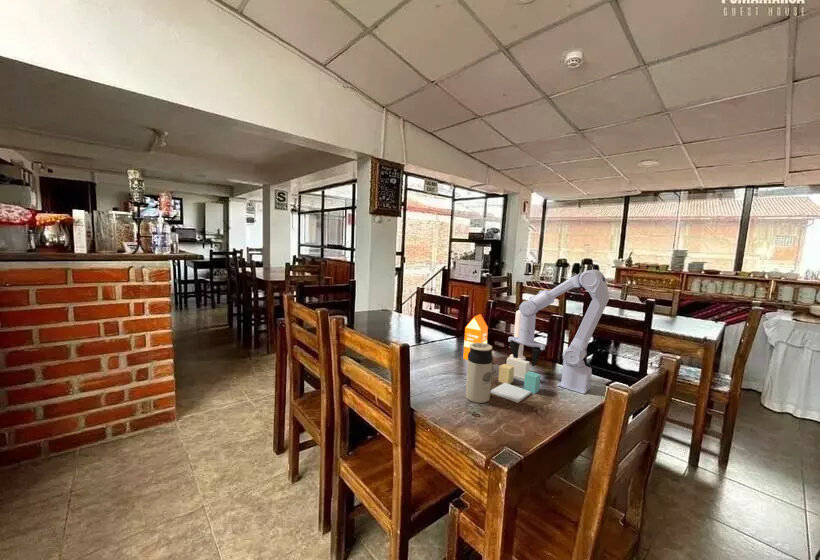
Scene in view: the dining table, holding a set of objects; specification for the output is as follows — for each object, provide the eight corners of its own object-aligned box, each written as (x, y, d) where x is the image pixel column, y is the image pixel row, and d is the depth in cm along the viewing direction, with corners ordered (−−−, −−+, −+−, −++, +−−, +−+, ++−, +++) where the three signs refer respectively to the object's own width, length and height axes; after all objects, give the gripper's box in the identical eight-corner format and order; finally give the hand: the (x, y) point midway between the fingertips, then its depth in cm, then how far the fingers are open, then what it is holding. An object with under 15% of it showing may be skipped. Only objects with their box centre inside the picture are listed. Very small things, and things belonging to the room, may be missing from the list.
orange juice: (486, 357, 150) (489, 315, 148) (479, 363, 143) (482, 318, 140) (470, 354, 154) (472, 312, 152) (462, 359, 147) (465, 315, 145)
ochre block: (513, 381, 124) (514, 366, 123) (508, 384, 121) (509, 369, 120) (503, 378, 127) (504, 363, 126) (498, 381, 124) (499, 366, 123)
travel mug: (461, 394, 112) (464, 343, 110) (480, 391, 115) (484, 341, 113) (473, 405, 104) (476, 350, 102) (494, 401, 107) (498, 348, 105)
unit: (532, 378, 127) (534, 361, 127) (527, 382, 124) (528, 364, 123) (508, 371, 134) (510, 354, 134) (502, 374, 131) (504, 357, 130)
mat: (530, 393, 114) (530, 391, 114) (517, 402, 107) (517, 400, 107) (504, 384, 121) (504, 382, 121) (490, 392, 114) (490, 390, 114)
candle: (515, 361, 147) (519, 306, 144) (506, 355, 153) (510, 303, 151) (528, 360, 149) (533, 306, 146) (519, 355, 155) (523, 303, 153)
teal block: (539, 390, 117) (540, 374, 117) (534, 393, 114) (535, 377, 114) (528, 386, 120) (529, 371, 119) (523, 390, 117) (524, 374, 116)
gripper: (549, 332, 129) (546, 365, 130) (514, 325, 139) (512, 355, 140) (542, 335, 124) (539, 369, 125) (506, 327, 134) (504, 359, 135)
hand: (524, 362), depth 133 cm, fingers open, 7 cm apart
